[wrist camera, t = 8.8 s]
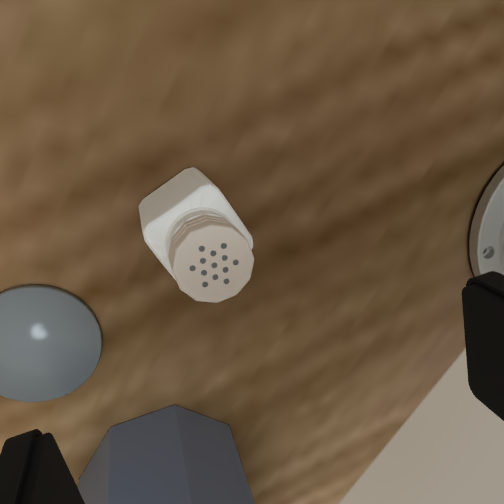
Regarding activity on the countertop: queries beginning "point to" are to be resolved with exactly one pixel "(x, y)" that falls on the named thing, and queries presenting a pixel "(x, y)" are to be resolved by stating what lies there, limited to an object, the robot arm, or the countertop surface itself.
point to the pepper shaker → (197, 237)
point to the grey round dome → (45, 342)
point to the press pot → (166, 462)
